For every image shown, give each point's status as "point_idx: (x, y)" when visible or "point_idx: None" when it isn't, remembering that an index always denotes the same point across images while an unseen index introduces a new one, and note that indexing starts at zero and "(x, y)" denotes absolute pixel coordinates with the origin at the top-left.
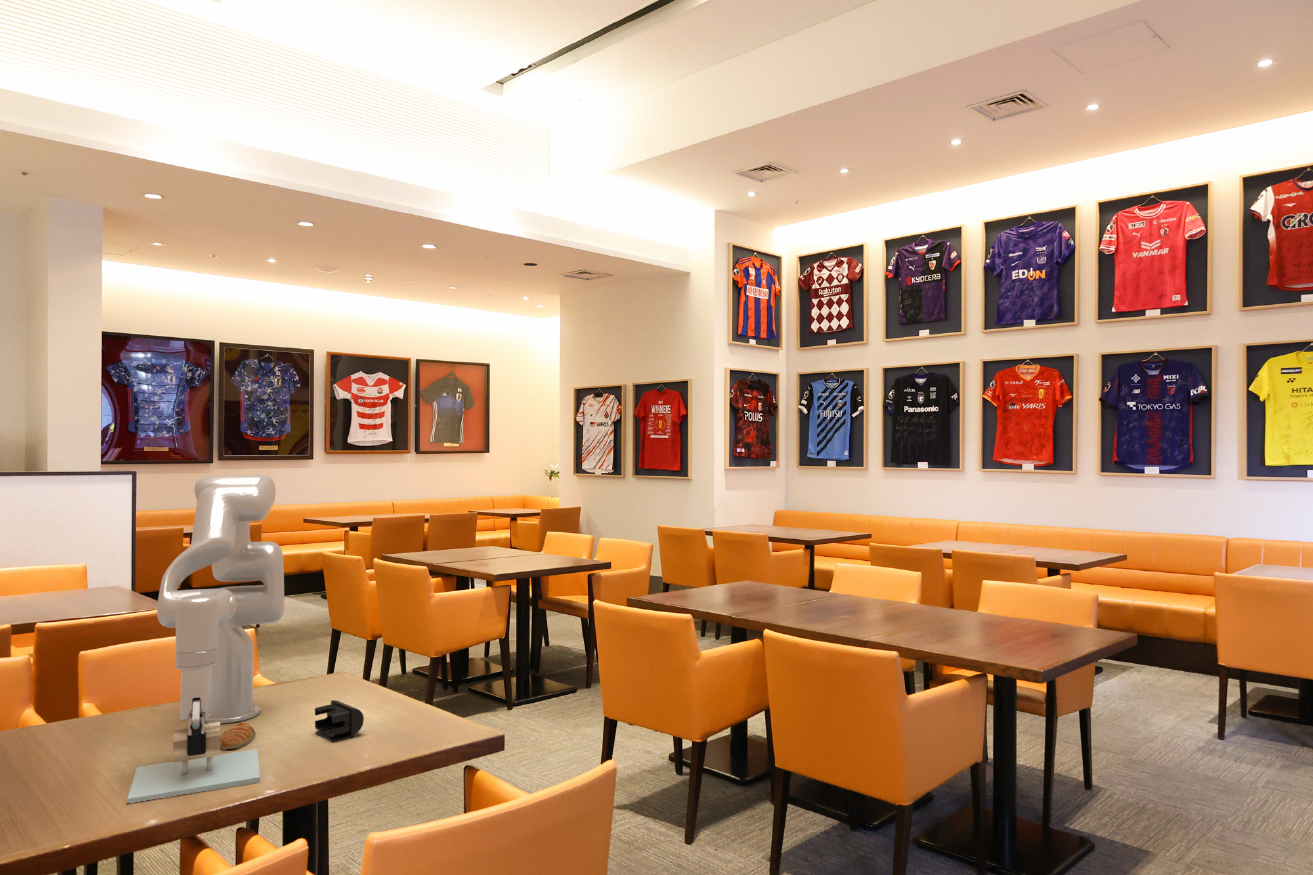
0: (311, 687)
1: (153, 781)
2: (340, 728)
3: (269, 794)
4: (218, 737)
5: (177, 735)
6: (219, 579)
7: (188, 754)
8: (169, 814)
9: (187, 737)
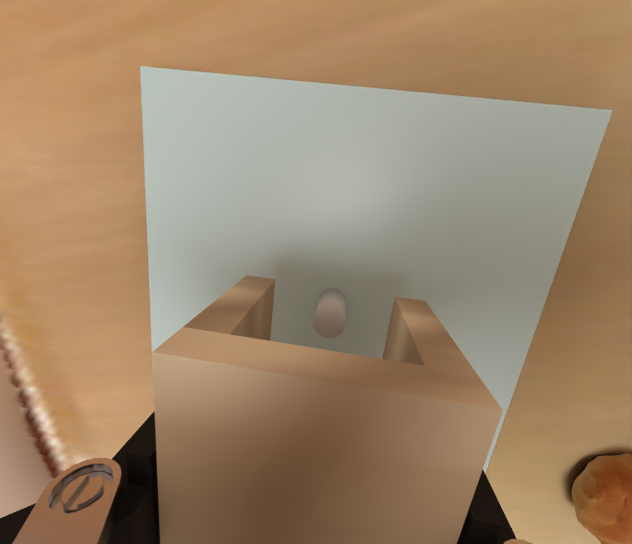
0: None
1: (312, 180)
2: None
3: (63, 462)
4: None
5: (170, 388)
6: None
7: None
8: (4, 217)
9: (138, 438)
